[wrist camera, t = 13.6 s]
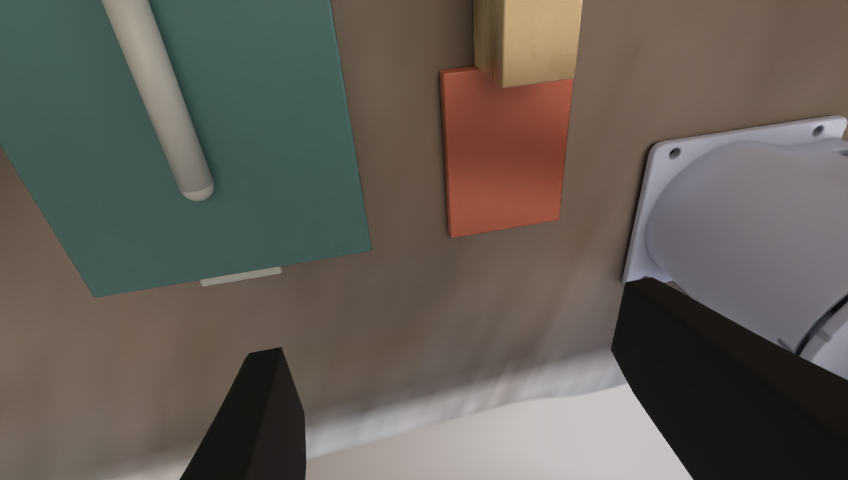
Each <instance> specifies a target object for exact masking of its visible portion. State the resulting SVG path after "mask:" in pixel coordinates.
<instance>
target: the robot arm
mask: <svg viewBox="0 0 848 480" xmlns="http://www.w3.org/2000/svg"><path fill="white" fill-rule="evenodd" d="M846 126H847V119H846V118H845V117H843V116H840V115H831V116H824V117H817V118H811V119H804V120H798V121H791V122H785V123H778V124H771V125H765V126H758V127H752V128H745V129H739V130H732V131H726V132H719V133H712V134H706V135H699V136H693V137H686V138H680V139H673V140H667V141H661V142H658V143H656V144H655V145H654V146H653V147H652V148H651V149H650V152H649V155H648V160H647V165H646V169H645V174H644V179H643V184H642V188H641V193H640V198H639V203H638V208H637V212H636V217H635V222H634V227H633V231H632V236H631V241H630V246H629V250H628V255H627V260H626V265H625V269H624V274H623V279H622V282H623V284H624V285H625V287H624V291H623V296H622V301H621V305H620V310H619V315H618V319H617V324H616V328H615V333H614V338H613V342H612V347H611V351H612V353H613V355H614V357H615V359H616V361H617V363H618V365H619V367H620V369H621V371H622V373H623V375H624V376H625V378H626V380H627V382H628V384H629V386H630V387H631V389H632V391H633V393H634V394H635V396H636V397H637V399H638V400H639V402H640V403H641V405H642V406H643V408H644V409H645V411H646V412H647V414H648V415H649V416H650V418H651V419H652V421H653V422H654V424H655V425H656V426H657V428H658V430H659V431H660V432H661V434H662V435H663V437H664V438H665V439H666V441H667V442H668V444H669V445H670V447H671V448H672V450H673V451H674V452H675V454H676V455H677V457H678V458H679V460H680V461H681V462H682V464H683V465H684V467H685V468H686V470H687V471H688V472H689V474H690V475H691V477H692V478H693V480H848V142H847V141H845V140H842V139H841V137H842V135H843V133H844V131H845V128H846ZM674 148H675V150H674V152H673V153H672V154H671V155H669V154H670V152H671V151H672V150H673V149H674ZM670 281H674V282H675V283H676V284H677V285H678V286H680V287H681V288H682V289H683V290H684V291H685V292H686V293H687V294H688V295H689V296H690V297H689V296H687V295H685V294H683V293H682V292H680V291H678V290H676V289H674V288H672V287H670V286H669V285H667V284H665V282H670ZM305 474H306V440H305V416H304V410H303V407H302V405H301V402H300V399H299V396H298V393H297V390H296V387H295V384H294V382H293V379H292V376H291V373H290V370H289V367H288V364H287V361H286V359H285V356H284V353H283V350H282V347H279V348H274V349H269V350H263V351H258V352H253V353H249V354H248V356H247V357H246V358H245V360H244V362H243V364H242V366H241V368H240V370H239V372H238V374H237V376H236V378H235V380H234V382H233V384H232V386H231V388H230V390H229V392H228V394H227V396H226V398H225V400H224V402H223V404H222V406H221V407H220V409H219V411H218V413H217V415H216V417H215V419H214V421H213V422H212V424H211V426H210V428H209V430H208V431H207V433H206V435H205V437H204V438H203V440H202V442H201V444H200V445H199V447H198V449H197V451H196V453H195V454H194V456H193V458H192V460H191V461H190V463H189V465H188V466H187V468H186V470H185V471H184V473H183V475H182V476H181V478H180V480H305Z"/></svg>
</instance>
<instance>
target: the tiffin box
mask: <svg viewBox="0 0 848 480" xmlns="http://www.w3.org/2000/svg"><path fill="white" fill-rule="evenodd" d="M0 146H1V147H2V149H3V150H4V152H5V154H6V155H7V157H8V159H9V160H10V162H11V163H12V165H13V167H14V168H15V170H16V172H17V173H18V175H19V176H20V178H21V180H22V181H23V183H24V184H25V186H26V188H27V189H28V191H29V193H30V194H31V196H32V197H33V199H34V201H35V202H36V204H37V206H38V207H39V209H40V210H41V212H42V214H43V215H44V217H45V219H46V220H47V222H48V223H49V225H50V227H51V228H52V230H53V232H54V233H55V235H56V236H57V238H58V240H59V241H60V243H61V245H62V246H63V248H64V249H65V251H66V253H67V254H68V256H69V257H70V259H71V261H72V262H73V264H74V266H75V267H76V269H77V270H78V272H79V274H80V275H81V277H82V279H83V280H84V282H85V283H86V285H87V287H88V288H89V290H90V292H91V293H92V295H93V296H94V297H102V296H108V295H114V294H120V293H126V292H132V291H137V290H143V289H149V288H155V287H161V286H167V285H173V284H179V283H185V282H191V281H197V280H199V281H200V283H201V285H202V286H210V285H216V284H222V283H227V282H233V281H239V280H245V279H251V278H257V277H263V276H268V275H274V274H280V273H282V268H283V266H285V265H291V264H297V263H303V262H309V261H315V260H321V259H327V258H333V257H339V256H345V255H351V254H357V253H362V252H368V251H371V250H372V247H371V241H370V235H369V229H368V223H367V217H366V211H365V205H364V199H363V193H362V187H361V181H360V175H359V169H358V163H357V157H356V151H355V145H354V139H353V133H352V127H351V121H350V115H349V109H348V103H347V97H346V91H345V85H344V79H343V73H342V66H341V60H340V54H339V48H338V42H337V36H336V30H335V24H334V18H333V12H332V6H331V0H0Z"/></svg>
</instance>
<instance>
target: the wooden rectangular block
mask: <svg viewBox="0 0 848 480" xmlns="http://www.w3.org/2000/svg"><path fill="white" fill-rule="evenodd" d="M582 3H583V0H473V9H474V64H475V66H469V67H461V68H453V69H445V70H441V71H440V91H441V109H442V128H443V147H444V165H445V184H446V203H447V221H448V232H449V234H450V237H451V238H455V237H461V236H466V235H472V234H478V233H484V232H490V231H496V230H502V229H508V228H513V227H519V226H525V225H531V224H537V223H543V222H549V221H555V220H559V214H560V204H561V194H562V184H563V175H564V165H565V155H566V146H567V136H568V126H569V116H570V107H571V97H572V87H573V78H574V77H575V70H576V60H577V51H578V41H579V31H580V22H581V12H582Z"/></svg>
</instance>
